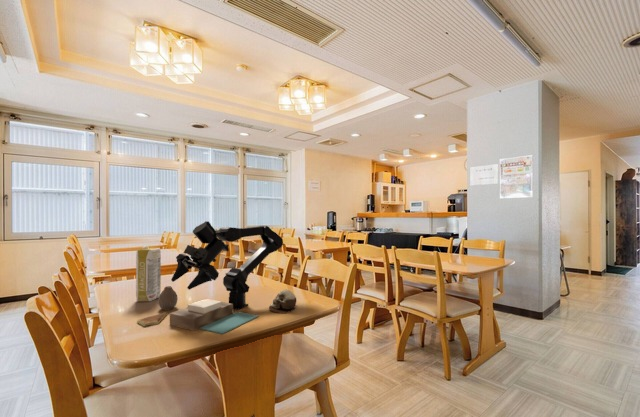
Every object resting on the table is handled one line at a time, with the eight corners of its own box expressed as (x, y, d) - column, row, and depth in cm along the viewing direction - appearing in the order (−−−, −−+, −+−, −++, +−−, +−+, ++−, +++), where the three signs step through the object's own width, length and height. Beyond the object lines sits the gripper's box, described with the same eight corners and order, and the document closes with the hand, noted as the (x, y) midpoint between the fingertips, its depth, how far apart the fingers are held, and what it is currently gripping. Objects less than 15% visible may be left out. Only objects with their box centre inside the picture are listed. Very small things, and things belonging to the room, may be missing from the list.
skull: (261, 309, 116) (270, 285, 123) (272, 321, 123) (280, 298, 130) (288, 312, 112) (296, 287, 118) (298, 324, 119) (305, 300, 125)
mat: (237, 312, 116) (237, 311, 116) (258, 316, 111) (258, 315, 111) (200, 329, 100) (200, 327, 100) (222, 334, 95) (222, 333, 95)
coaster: (205, 304, 114) (205, 298, 114) (221, 307, 110) (221, 301, 110) (187, 310, 107) (187, 304, 107) (204, 313, 103) (204, 307, 103)
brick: (210, 309, 119) (210, 299, 120) (233, 314, 114) (233, 303, 114) (169, 325, 103) (169, 313, 103) (194, 330, 98) (194, 318, 98)
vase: (167, 312, 117) (167, 289, 117) (154, 310, 120) (154, 288, 120) (181, 306, 124) (181, 285, 124) (168, 305, 126) (168, 284, 126)
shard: (167, 315, 114) (167, 310, 114) (177, 320, 110) (177, 315, 110) (136, 324, 106) (136, 319, 106) (146, 329, 101) (146, 323, 101)
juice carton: (146, 296, 140) (146, 244, 140) (162, 296, 140) (163, 244, 140) (133, 302, 131) (133, 247, 131) (150, 302, 130) (151, 247, 131)
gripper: (184, 232, 114) (151, 263, 105) (217, 243, 105) (184, 279, 96) (198, 251, 121) (168, 282, 112) (230, 263, 112) (201, 298, 103)
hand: (179, 284), depth 106 cm, fingers open, 9 cm apart
